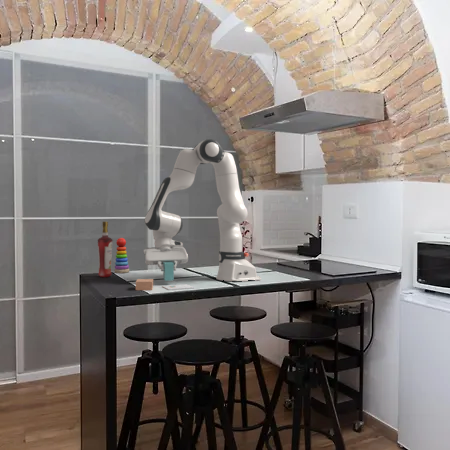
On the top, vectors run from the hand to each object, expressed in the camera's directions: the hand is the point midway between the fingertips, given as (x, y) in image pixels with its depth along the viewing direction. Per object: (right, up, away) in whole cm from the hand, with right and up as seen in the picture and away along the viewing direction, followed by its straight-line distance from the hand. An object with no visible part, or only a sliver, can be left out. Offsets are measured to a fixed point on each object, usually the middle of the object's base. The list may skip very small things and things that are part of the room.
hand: (168, 270), depth 220 cm
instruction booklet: (+5, -7, -7) cm, 11 cm away
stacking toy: (-30, -5, +37) cm, 48 cm away
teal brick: (0, -5, +1) cm, 5 cm away
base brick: (-9, -7, -12) cm, 17 cm away
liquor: (-35, -6, +21) cm, 41 cm away
